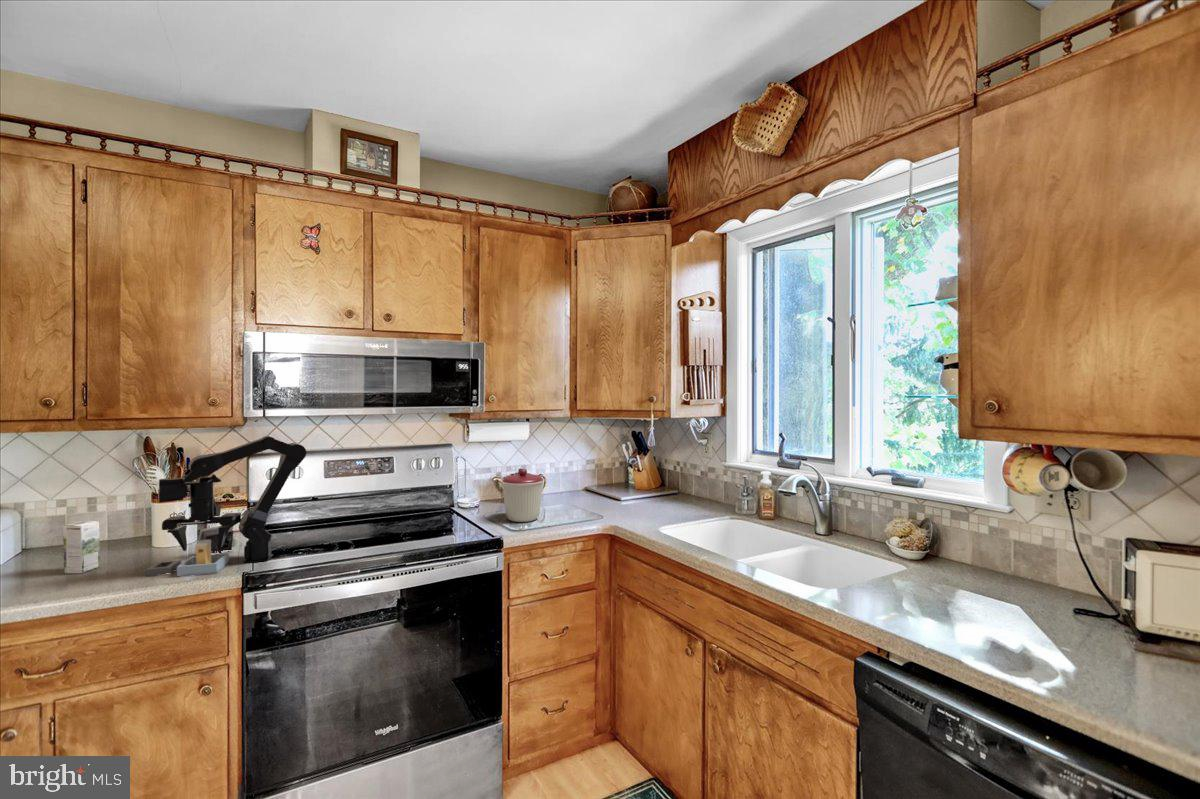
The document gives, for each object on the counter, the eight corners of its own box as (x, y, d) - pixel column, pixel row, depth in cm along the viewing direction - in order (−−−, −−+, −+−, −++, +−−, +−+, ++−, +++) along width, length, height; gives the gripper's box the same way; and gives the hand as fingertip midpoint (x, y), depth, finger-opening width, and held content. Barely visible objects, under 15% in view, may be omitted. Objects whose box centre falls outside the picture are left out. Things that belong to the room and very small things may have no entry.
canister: (492, 518, 226) (492, 468, 225) (528, 511, 238) (528, 464, 237) (516, 527, 212) (516, 474, 212) (553, 519, 224) (553, 468, 224)
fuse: (211, 565, 167) (211, 539, 167) (206, 569, 163) (205, 543, 163) (202, 565, 166) (201, 540, 166) (196, 570, 162) (195, 543, 162)
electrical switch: (230, 548, 186) (230, 522, 185) (236, 553, 182) (236, 526, 182) (197, 555, 178) (197, 528, 178) (202, 560, 175) (202, 532, 174)
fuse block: (181, 566, 168) (180, 560, 168) (170, 574, 161) (170, 567, 161) (157, 568, 166) (157, 561, 166) (146, 576, 159) (146, 569, 159)
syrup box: (82, 567, 167) (80, 520, 167) (100, 567, 167) (99, 520, 167) (63, 573, 161) (61, 525, 161) (82, 573, 161) (81, 525, 161)
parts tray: (229, 562, 171) (228, 553, 171) (216, 573, 161) (216, 563, 161) (191, 565, 168) (191, 556, 168) (177, 577, 159) (176, 566, 158)
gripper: (246, 491, 174) (247, 539, 175) (177, 494, 169) (178, 544, 170) (233, 498, 164) (235, 549, 164) (160, 502, 158) (161, 555, 159)
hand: (203, 549), depth 165 cm, fingers open, 9 cm apart
